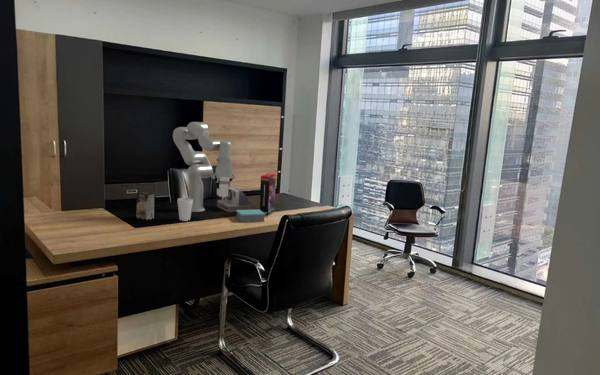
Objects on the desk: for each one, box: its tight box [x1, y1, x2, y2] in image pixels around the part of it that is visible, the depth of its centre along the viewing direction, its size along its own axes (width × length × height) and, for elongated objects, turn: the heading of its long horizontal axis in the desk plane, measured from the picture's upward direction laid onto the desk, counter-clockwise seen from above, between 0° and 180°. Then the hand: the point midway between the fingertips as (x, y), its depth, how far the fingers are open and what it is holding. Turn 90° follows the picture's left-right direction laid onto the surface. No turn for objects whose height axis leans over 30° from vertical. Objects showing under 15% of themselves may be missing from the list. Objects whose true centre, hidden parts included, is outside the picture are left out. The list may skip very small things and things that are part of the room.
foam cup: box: [176, 197, 193, 222], centre depth 273 cm, size 10×9×13 cm
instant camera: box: [216, 186, 251, 213], centre depth 314 cm, size 21×21×15 cm
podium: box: [235, 209, 266, 223], centre depth 285 cm, size 16×13×5 cm
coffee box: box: [135, 190, 155, 221], centre depth 270 cm, size 9×6×16 cm
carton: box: [216, 178, 230, 197], centre depth 282 cm, size 6×8×12 cm
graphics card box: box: [259, 172, 277, 216], centre depth 305 cm, size 17×7×27 cm, turn 168°
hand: (222, 188), depth 282 cm, fingers closed on carton, 5 cm apart
